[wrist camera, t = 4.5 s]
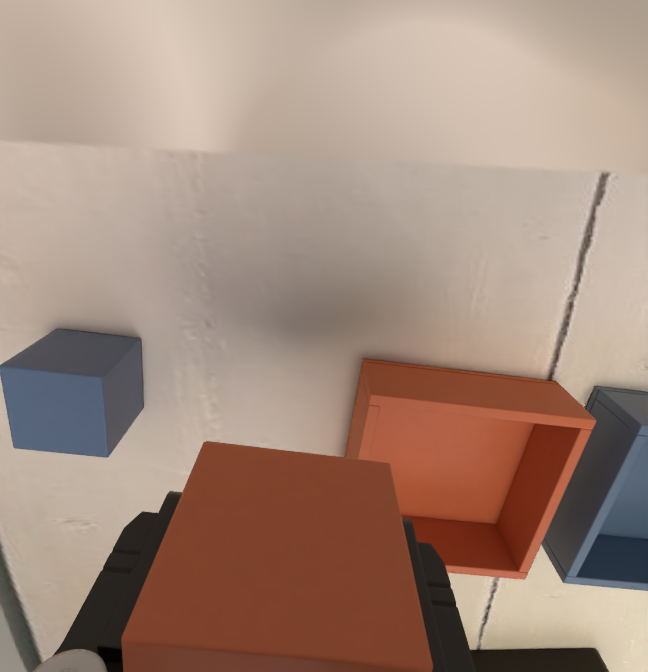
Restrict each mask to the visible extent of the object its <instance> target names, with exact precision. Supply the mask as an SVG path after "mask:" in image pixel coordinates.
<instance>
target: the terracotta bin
mask: <svg viewBox="0 0 648 672" xmlns="http://www.w3.org/2000/svg"><path fill="white" fill-rule="evenodd" d="M595 423H596V419H595V418H594V417H593V416H592V415H591V414H590V413H589V412H588V411H587V410H586V409H584V408H583V407H582V406H581V405H580V404H579V403H578V402H577V401H576V400H575V399H574V398H573V397H572V396H571V395H570V394H569V393H568V392H567V391H566V390H565V389H564V388H562V387H561V386H560V385H559V383H557V382H556V381H548V380H539V379H531V378H522V377H514V376H505V375H497V374H489V373H480V372H472V371H463V370H455V369H446V368H438V367H429V366H421V365H412V364H404V363H395V362H387V361H379V360H370V359H363V362H362V367H361V373H360V378H359V384H358V389H357V394H356V400H355V405H354V410H353V416H352V421H351V426H350V432H349V437H348V442H347V448H346V453H345V458H353V459H361V460H369V461H378V462H386V463H390V465H391V470H392V475H393V479H394V484H395V489H396V493H397V498H398V503H399V508H400V512H401V517H402V518H410V519H411V521H412V523H413V527H414V531H415V535H416V539H417V542H422V543H431V545H432V546H433V547H434V549H435V550H436V552H437V553H438V555H439V556H440V557H441V559H442V560H443V562H444V563H445V567H446V570H447V572H448V573H459V574H470V575H481V576H491V577H502V578H513V579H525V578H526V576H527V574H528V572H529V570H530V567H531V565H532V563H533V561H534V558H535V556H536V554H537V552H538V550H539V547H540V545H541V543H542V541H543V538H544V536H545V534H546V532H547V530H548V527H549V525H550V523H551V521H552V518H553V516H554V514H555V512H556V510H557V507H558V505H559V503H560V501H561V498H562V496H563V494H564V492H565V490H566V487H567V485H568V483H569V481H570V478H571V476H572V474H573V472H574V470H575V467H576V465H577V463H578V461H579V458H580V456H581V454H582V452H583V450H584V447H585V445H586V443H587V441H588V438H589V436H590V434H591V432H592V429H593V427H594V425H595Z"/></svg>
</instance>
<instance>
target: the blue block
mask: <svg viewBox="0 0 648 672" xmlns="http://www.w3.org/2000/svg"><path fill="white" fill-rule="evenodd" d="M0 376H1V381H2V386H3V392H4V397H5V403H6V408H7V414H8V419H9V425H10V430H11V436H12V441H13V447H14V448H18V449H27V450H37V451H47V452H57V453H67V454H77V455H86V456H96V457H106V458H107V457H109V455H110V454H111V453H112V451H113V450H114V448H115V447H116V446H117V444H118V443H119V441H120V440H121V439H122V437H123V436H124V434H125V433H126V432H127V430H128V429H129V427H130V426H131V425H132V423H133V422H134V420H135V419H136V418H137V416H138V415H139V413H140V412H141V411H142V409H143V386H142V359H141V339H140V338H131V337H123V336H114V335H106V334H97V333H89V332H80V331H72V330H63V329H56V330H54V331H53V332H51V333H49V334H48V335H46V336H45V337H43V338H42V339H40V340H39V341H37V342H35V343H34V344H32V345H31V346H29V347H28V348H26V349H25V350H23V351H22V352H20V353H18V354H17V355H15V356H14V357H12V358H11V359H9V360H8V361H6V362H4V363H3V364H1V365H0Z"/></svg>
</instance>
